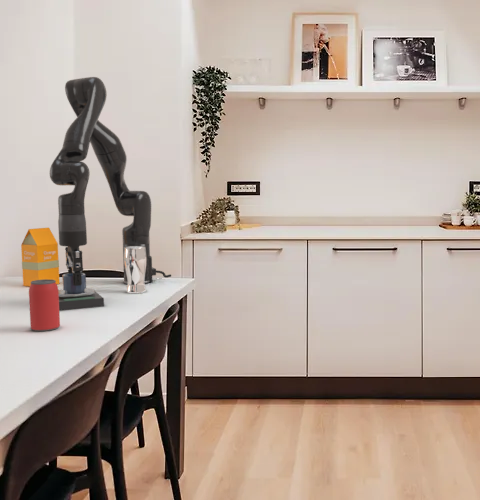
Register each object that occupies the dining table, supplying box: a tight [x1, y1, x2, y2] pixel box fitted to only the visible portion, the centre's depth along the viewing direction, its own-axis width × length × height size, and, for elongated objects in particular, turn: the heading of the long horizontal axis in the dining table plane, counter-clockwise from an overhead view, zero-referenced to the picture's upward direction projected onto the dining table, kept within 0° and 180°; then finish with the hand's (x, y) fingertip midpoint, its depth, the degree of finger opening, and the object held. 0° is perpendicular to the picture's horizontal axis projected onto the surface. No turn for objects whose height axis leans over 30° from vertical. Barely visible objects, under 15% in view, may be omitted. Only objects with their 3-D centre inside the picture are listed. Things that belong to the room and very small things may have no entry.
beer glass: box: [124, 246, 147, 294], centre depth 203 cm, size 7×7×15 cm
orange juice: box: [20, 227, 61, 287], centre depth 215 cm, size 8×9×20 cm
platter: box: [58, 287, 96, 297], centre depth 183 cm, size 11×11×1 cm
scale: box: [59, 291, 105, 312], centre depth 183 cm, size 13×15×3 cm
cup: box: [61, 272, 87, 293], centre depth 183 cm, size 6×6×5 cm
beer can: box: [28, 279, 61, 332], centre depth 152 cm, size 7×7×12 cm
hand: (75, 283), depth 183 cm, fingers open, 8 cm apart
